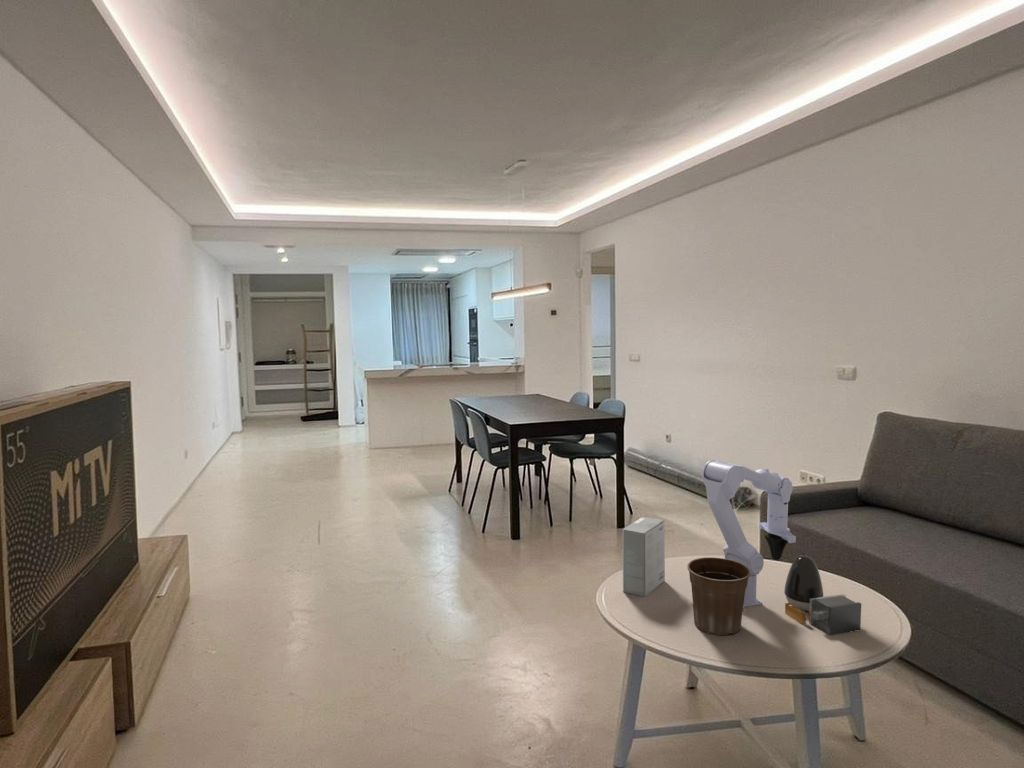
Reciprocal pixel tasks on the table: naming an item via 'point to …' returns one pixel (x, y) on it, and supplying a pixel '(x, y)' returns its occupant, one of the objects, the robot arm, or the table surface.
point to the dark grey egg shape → (803, 583)
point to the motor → (829, 614)
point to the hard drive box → (643, 556)
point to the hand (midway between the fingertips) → (776, 558)
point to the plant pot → (718, 594)
